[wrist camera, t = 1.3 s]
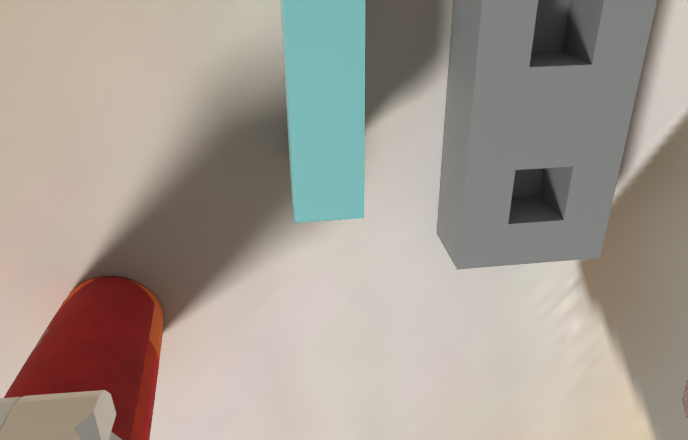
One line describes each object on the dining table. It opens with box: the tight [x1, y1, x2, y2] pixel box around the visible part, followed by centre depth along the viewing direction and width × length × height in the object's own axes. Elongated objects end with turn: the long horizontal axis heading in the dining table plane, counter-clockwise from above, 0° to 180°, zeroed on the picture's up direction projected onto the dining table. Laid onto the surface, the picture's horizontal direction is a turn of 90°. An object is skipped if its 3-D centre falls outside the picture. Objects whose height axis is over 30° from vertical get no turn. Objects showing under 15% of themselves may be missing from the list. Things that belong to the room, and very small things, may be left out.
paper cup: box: [4, 276, 163, 440], centre depth 28 cm, size 8×8×14 cm
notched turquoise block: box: [281, 0, 365, 223], centre depth 26 cm, size 10×3×7 cm, turn 0°
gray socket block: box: [437, 0, 657, 269], centre depth 30 cm, size 16×8×4 cm, turn 1°
